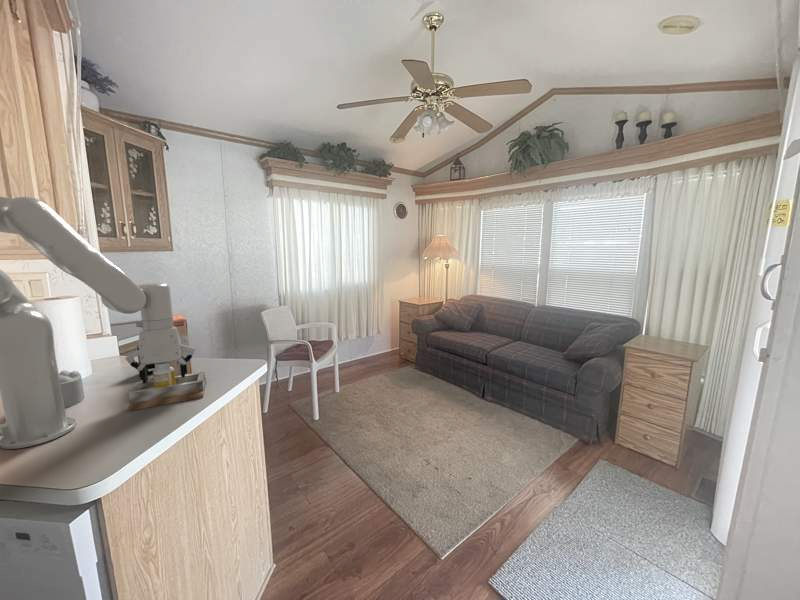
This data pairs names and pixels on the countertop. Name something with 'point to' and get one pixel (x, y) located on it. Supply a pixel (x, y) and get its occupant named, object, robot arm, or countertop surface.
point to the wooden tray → (168, 391)
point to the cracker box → (183, 333)
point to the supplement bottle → (163, 374)
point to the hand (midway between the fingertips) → (164, 378)
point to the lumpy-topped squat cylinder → (71, 387)
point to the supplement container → (149, 366)
